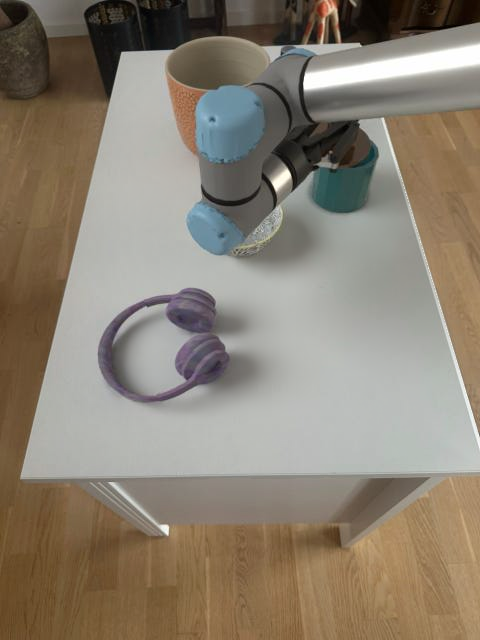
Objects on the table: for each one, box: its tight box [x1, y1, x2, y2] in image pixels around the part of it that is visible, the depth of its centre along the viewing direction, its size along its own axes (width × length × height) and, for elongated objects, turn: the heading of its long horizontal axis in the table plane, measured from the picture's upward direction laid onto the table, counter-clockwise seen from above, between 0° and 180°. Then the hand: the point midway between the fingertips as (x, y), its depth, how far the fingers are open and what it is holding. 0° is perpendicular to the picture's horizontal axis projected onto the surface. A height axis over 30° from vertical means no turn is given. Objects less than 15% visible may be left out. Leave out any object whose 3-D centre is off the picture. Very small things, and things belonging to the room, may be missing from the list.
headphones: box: [97, 287, 230, 403], centre depth 70 cm, size 18×8×20 cm
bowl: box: [225, 203, 284, 257], centre depth 83 cm, size 16×16×8 cm
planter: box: [164, 35, 272, 157], centre depth 95 cm, size 21×21×19 cm
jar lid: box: [309, 122, 371, 169], centre depth 73 cm, size 13×13×9 cm
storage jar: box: [310, 139, 380, 214], centre depth 89 cm, size 12×12×10 cm
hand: (354, 99), depth 73 cm, fingers closed on jar lid, 3 cm apart
